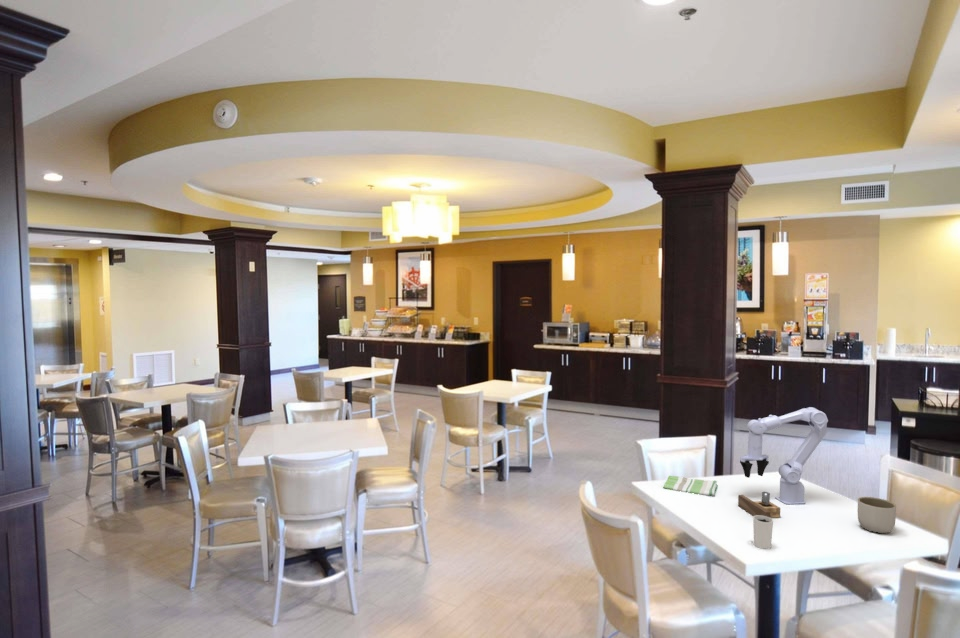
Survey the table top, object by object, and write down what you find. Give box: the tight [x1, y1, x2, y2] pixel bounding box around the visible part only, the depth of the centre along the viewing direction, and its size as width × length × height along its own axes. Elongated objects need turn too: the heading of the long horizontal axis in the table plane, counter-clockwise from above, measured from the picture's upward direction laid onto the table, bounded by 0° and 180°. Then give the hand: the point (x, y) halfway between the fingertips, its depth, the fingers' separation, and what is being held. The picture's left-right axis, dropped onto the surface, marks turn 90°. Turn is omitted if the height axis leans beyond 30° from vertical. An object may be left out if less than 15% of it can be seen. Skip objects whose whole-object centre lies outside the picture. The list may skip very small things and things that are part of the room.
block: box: [752, 500, 781, 519], centre depth 237 cm, size 8×8×4 cm
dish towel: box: [662, 475, 719, 497], centre depth 271 cm, size 17×23×4 cm
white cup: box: [752, 515, 774, 550], centre depth 208 cm, size 7×7×10 cm
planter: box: [857, 496, 897, 534], centre depth 223 cm, size 12×12×11 cm
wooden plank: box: [737, 494, 770, 517], centre depth 237 cm, size 2×20×5 cm, turn 5°
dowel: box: [761, 491, 771, 507], centre depth 237 cm, size 3×3×8 cm
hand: (753, 476), depth 256 cm, fingers open, 7 cm apart
